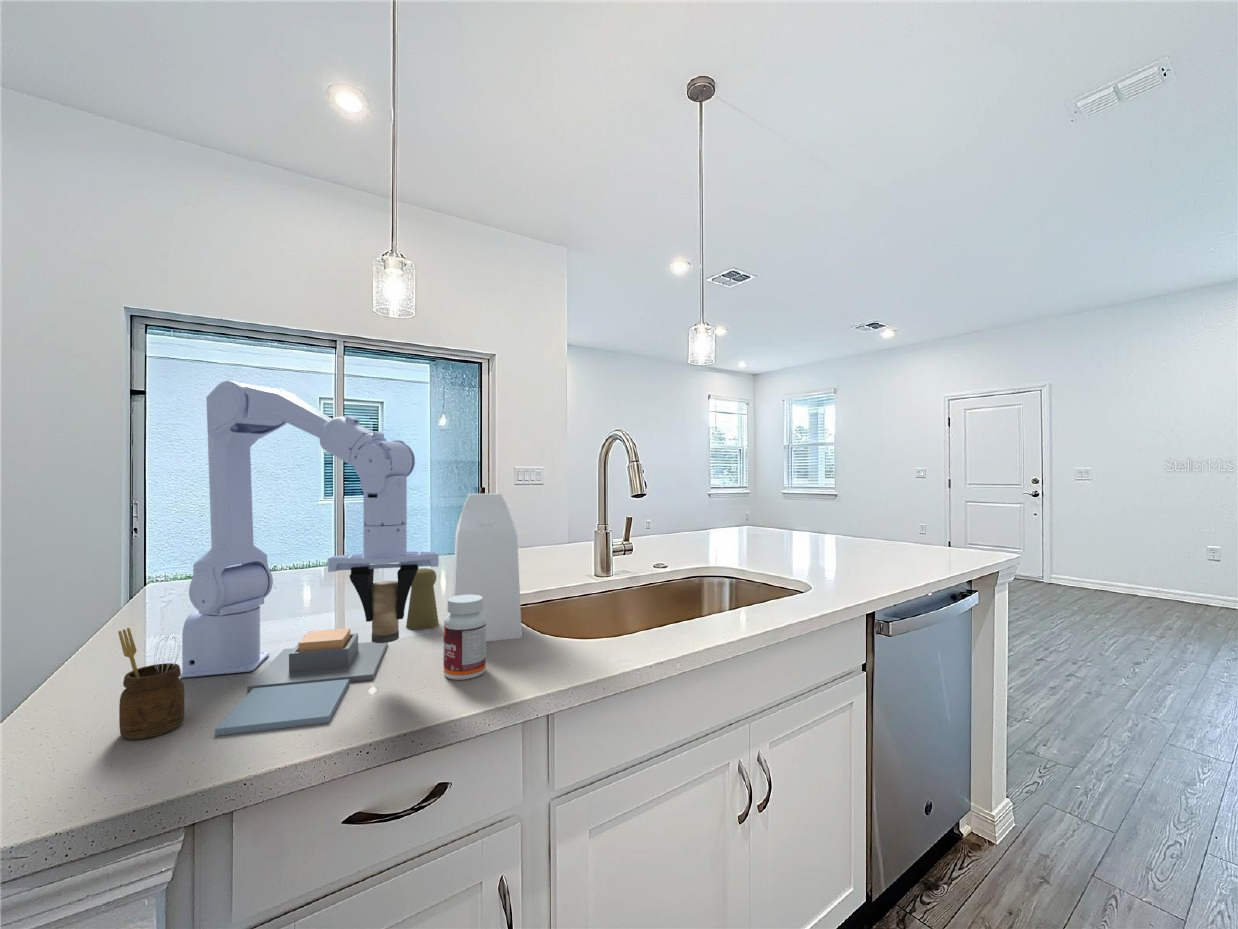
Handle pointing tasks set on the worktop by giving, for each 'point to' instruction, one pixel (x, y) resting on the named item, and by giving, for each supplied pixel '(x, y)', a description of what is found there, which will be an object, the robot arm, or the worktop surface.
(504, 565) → the milk
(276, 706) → the rubber mat
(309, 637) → the button
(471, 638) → the pill bottle
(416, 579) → the cork
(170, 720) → the utensil holder
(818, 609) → the worktop surface
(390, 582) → the rounded tan cylinder
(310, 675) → the breaker housing
